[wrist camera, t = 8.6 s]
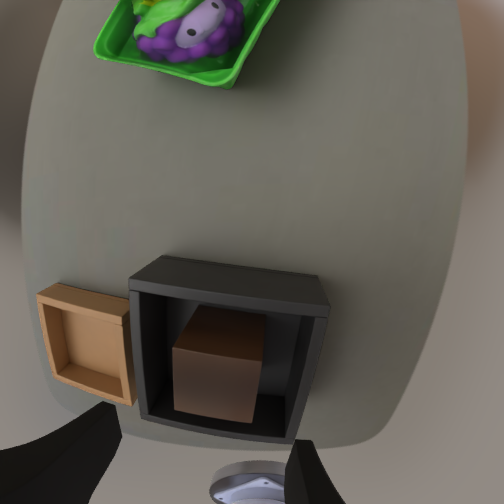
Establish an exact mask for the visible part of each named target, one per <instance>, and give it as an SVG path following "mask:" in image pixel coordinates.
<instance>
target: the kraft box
mask: <svg viewBox="0 0 504 504" xmlns="http://www.w3.org/2000/svg"><path fill="white" fill-rule="evenodd" d="M36 297H37V304H38V310H39V316H40V322H41V327H42V332H43V337H44V342H45V346H46V350H47V355H48V359H49V363H50V366H51V370H52V374H53V377H54V378H55V379H57V380H60V381H62V382H64V383H67V384H69V385H72V386H74V387H77V388H79V389H82V390H84V391H87V392H90V393H92V394H95V395H98V396H101V397H104V398H107V399H110V400H113V401H116V402H119V403H122V404H125V405H128V406H133V404H134V403H135V401H136V399H137V398H138V396H137V388H136V381H135V372H134V363H133V352H132V341H131V327H130V309H129V299H124V298H119V297H114V296H110V295H105V294H101V293H96V292H92V291H87V290H83V289H79V288H75V287H71V286H67V285H62V284H59V283H55V284H54V285H52V286H50V287H48V288H46V289H44V290H42V291H41V292H39V293H37V294H36Z"/></svg>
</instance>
